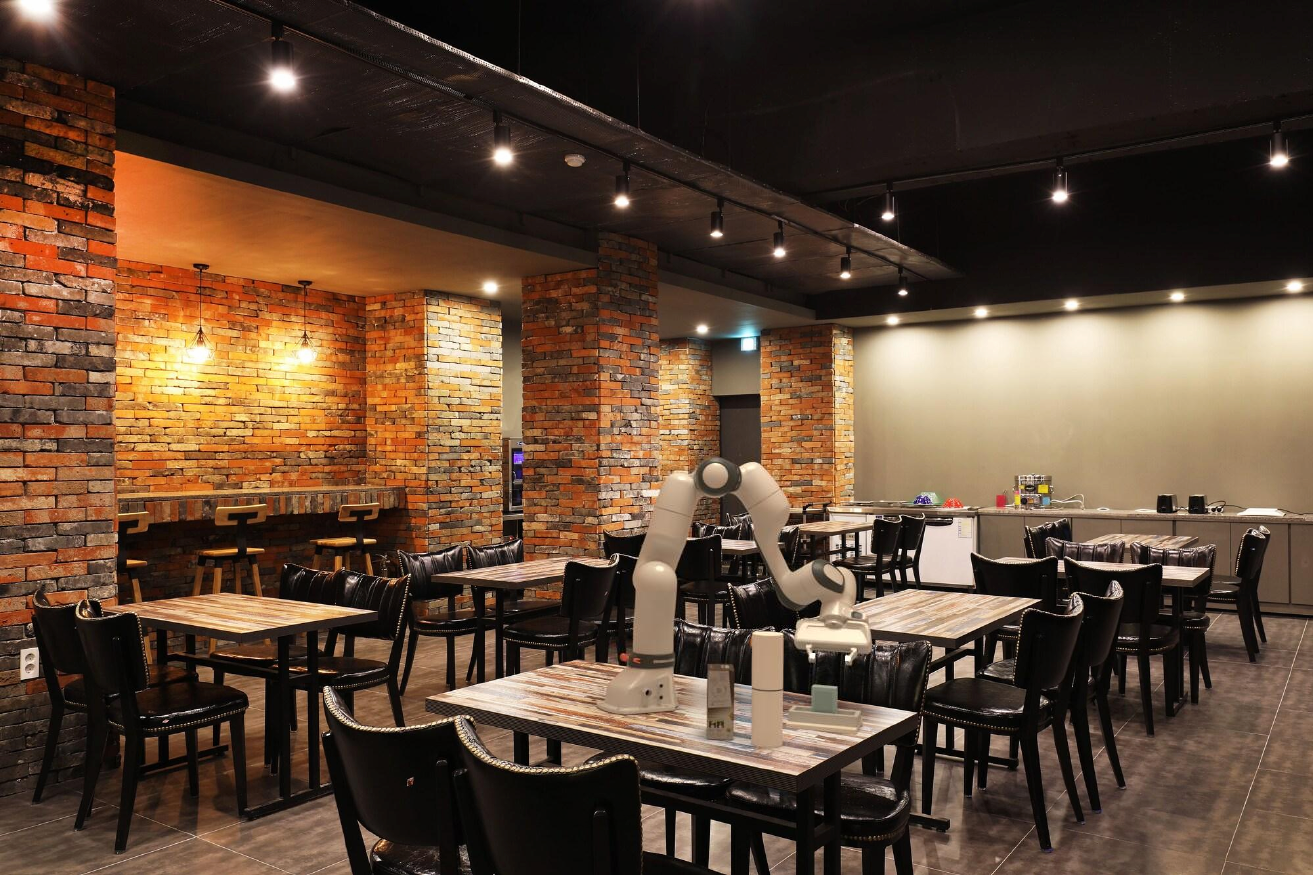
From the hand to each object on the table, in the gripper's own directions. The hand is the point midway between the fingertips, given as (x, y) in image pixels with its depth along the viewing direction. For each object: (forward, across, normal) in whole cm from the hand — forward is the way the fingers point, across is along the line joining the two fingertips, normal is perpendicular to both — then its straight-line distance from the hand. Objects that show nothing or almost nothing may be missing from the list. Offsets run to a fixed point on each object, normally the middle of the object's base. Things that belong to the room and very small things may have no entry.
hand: (829, 662), depth 245 cm
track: (+16, 0, +5) cm, 16 cm away
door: (+15, 0, +4) cm, 15 cm away
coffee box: (+30, -21, -10) cm, 38 cm away
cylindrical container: (+33, -9, -12) cm, 36 cm away
